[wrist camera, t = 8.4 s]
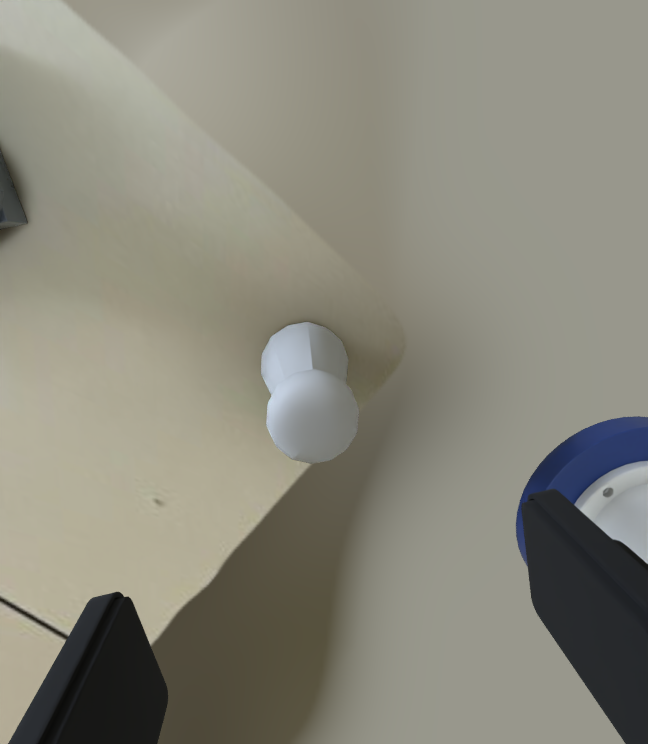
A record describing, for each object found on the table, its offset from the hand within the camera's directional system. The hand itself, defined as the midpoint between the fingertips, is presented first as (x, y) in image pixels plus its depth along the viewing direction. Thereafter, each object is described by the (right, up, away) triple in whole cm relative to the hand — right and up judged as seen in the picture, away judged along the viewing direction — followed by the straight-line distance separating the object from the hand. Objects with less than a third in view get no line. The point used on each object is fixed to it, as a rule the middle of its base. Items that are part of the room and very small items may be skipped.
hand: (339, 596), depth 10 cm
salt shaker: (-2, +6, +22) cm, 23 cm away
